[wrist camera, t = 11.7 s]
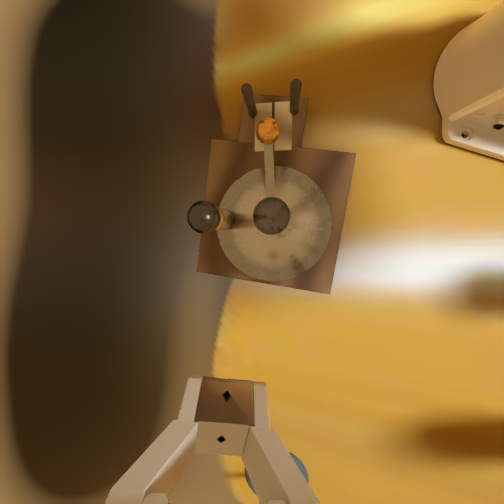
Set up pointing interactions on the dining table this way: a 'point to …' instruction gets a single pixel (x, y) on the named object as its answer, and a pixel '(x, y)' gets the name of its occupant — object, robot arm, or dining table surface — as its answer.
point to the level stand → (285, 154)
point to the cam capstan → (268, 217)
